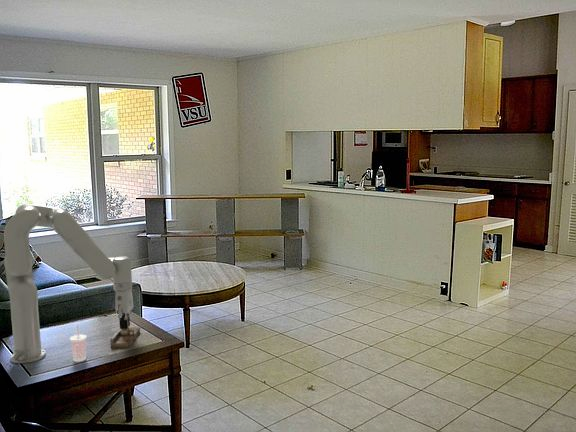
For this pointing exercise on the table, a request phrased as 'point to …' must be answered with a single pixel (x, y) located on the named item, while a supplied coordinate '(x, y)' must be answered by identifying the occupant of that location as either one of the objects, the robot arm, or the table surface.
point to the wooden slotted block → (123, 338)
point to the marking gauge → (126, 331)
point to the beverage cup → (78, 346)
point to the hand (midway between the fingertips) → (124, 326)
